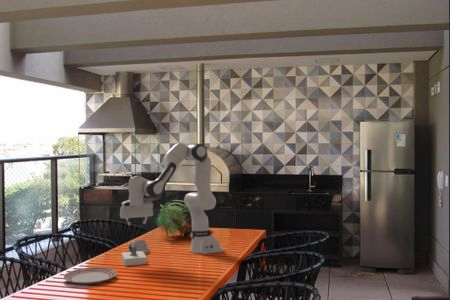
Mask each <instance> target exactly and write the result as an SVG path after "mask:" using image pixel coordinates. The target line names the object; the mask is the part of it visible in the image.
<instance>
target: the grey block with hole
mask: <svg viewBox="0 0 450 300" xmlns="http://www.w3.org/2000/svg"><path fill="white" fill-rule="evenodd" d="M147 257H148V256H146V254H144V253H143V251H137V252H136V256H131V252H129V251H125V252H121V260H122V263H123V266H125V267H126V266H136V265H137V266H138V265H147V261H148V260H147Z"/></svg>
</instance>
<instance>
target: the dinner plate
mask: <svg viewBox="0 0 450 300" xmlns="http://www.w3.org/2000/svg"><path fill="white" fill-rule="evenodd" d="M117 274H118V271H117V270H116V269H114V268H111V267H102V266H95V267H93V266H92V267H84V268H78V269H74V270H71V271H68V272H66V273H65V274H64V275H63V279H64V280H65V281H68V282H70V283H73V284H77V285H94V284H99V283H104V282H106V281H108V280H111V279H112V278H114V277H115V276H117Z"/></svg>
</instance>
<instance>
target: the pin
mask: <svg viewBox="0 0 450 300" xmlns="http://www.w3.org/2000/svg"><path fill="white" fill-rule="evenodd" d="M131 256H136V246H132V247H131Z"/></svg>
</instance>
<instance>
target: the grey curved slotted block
mask: <svg viewBox="0 0 450 300" xmlns="http://www.w3.org/2000/svg"><path fill="white" fill-rule="evenodd" d="M132 246H136V252H137V251H143V253H144V254H145V255H146V254H149V253H151V249H150V248H149V246H148V244H147V242H146V240H145V239H137V240H134V241H132V242H131V243H130V244H128V246H127V250H128V252H131V247H132Z"/></svg>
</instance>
